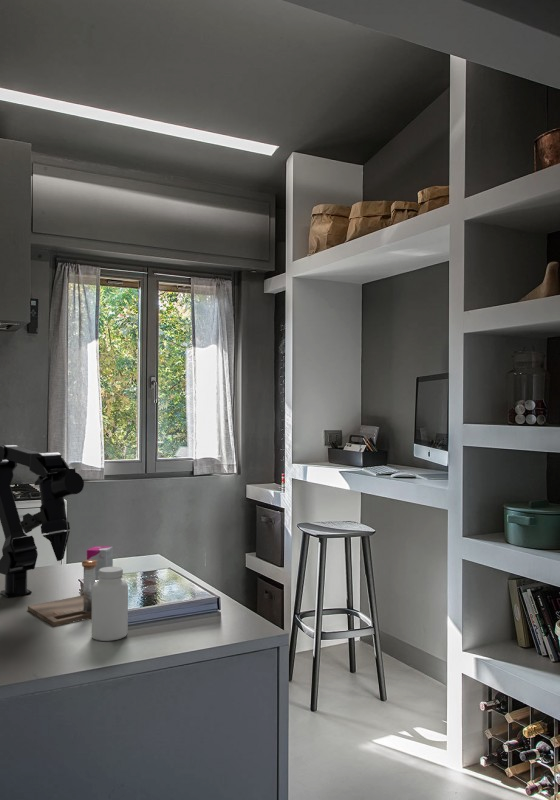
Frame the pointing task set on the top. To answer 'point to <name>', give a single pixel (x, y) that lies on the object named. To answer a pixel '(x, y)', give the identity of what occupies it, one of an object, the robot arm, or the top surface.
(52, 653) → the top surface
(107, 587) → the pill bottle
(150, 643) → the top surface
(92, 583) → the capped cylinder
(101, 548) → the supplement box
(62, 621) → the brown wooden flat board
